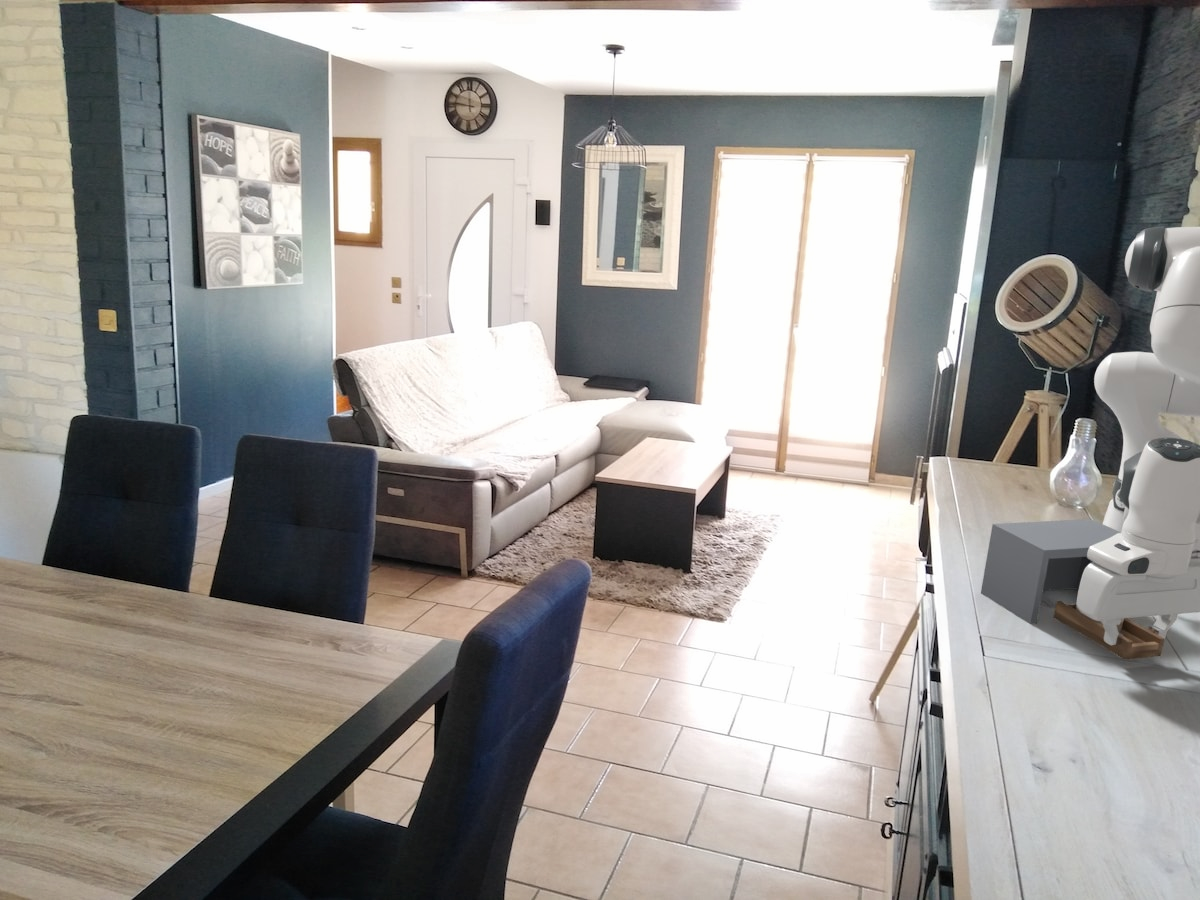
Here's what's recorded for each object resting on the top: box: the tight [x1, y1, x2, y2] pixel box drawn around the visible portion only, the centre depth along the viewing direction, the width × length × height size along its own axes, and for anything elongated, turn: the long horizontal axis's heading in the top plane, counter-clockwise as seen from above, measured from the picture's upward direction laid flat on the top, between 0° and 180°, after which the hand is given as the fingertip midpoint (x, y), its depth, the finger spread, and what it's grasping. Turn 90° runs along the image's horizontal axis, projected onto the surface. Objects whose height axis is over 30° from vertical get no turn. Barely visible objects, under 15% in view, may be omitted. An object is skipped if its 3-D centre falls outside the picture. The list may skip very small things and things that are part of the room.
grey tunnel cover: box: [980, 518, 1121, 625], centre depth 149 cm, size 20×12×12 cm, turn 105°
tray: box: [1053, 600, 1165, 661], centre depth 136 cm, size 6×14×5 cm, turn 15°
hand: (1133, 641), depth 131 cm, fingers closed on tray, 6 cm apart
